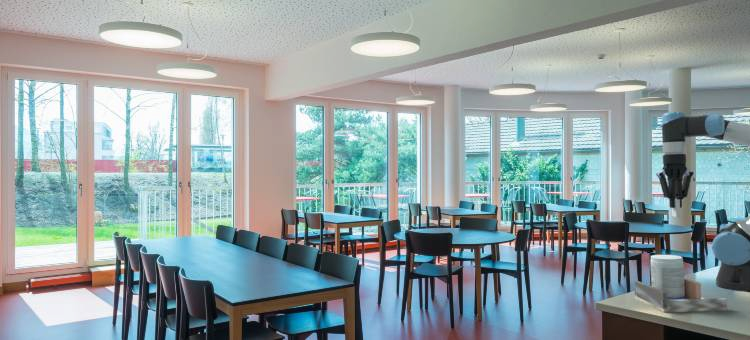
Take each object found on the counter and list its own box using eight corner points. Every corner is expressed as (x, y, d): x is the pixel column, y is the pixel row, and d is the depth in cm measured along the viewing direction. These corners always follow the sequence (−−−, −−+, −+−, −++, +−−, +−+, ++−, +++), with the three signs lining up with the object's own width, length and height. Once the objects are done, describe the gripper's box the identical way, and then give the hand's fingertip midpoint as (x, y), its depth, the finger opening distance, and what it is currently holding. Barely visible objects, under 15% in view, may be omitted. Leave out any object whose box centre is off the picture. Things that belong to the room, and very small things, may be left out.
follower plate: (675, 294, 177) (674, 274, 177) (701, 305, 163) (700, 283, 163) (670, 294, 177) (670, 274, 177) (696, 305, 163) (696, 283, 163)
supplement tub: (691, 301, 169) (689, 256, 169) (676, 306, 163) (674, 260, 163) (660, 296, 177) (659, 253, 177) (645, 300, 171) (644, 256, 171)
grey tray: (692, 296, 179) (691, 279, 179) (727, 310, 161) (726, 291, 161) (634, 298, 178) (634, 281, 178) (663, 312, 161) (663, 293, 161)
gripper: (685, 153, 197) (687, 215, 197) (651, 154, 197) (653, 216, 197) (697, 152, 189) (699, 217, 189) (662, 153, 189) (664, 218, 189)
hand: (676, 216), depth 193 cm, fingers closed
